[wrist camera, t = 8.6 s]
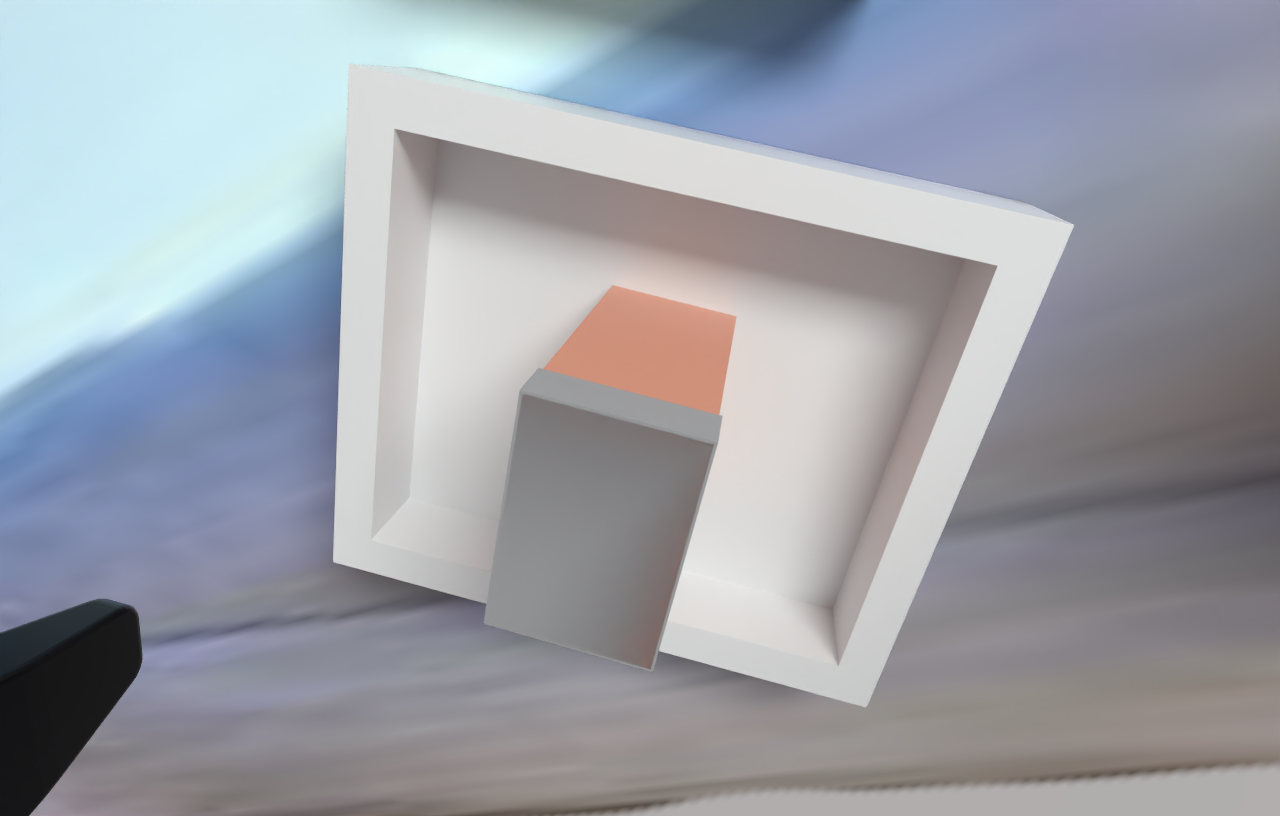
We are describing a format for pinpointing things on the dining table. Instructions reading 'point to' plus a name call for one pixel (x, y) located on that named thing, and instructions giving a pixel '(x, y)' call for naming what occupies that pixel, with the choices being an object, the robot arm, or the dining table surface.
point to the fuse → (610, 477)
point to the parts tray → (693, 274)
